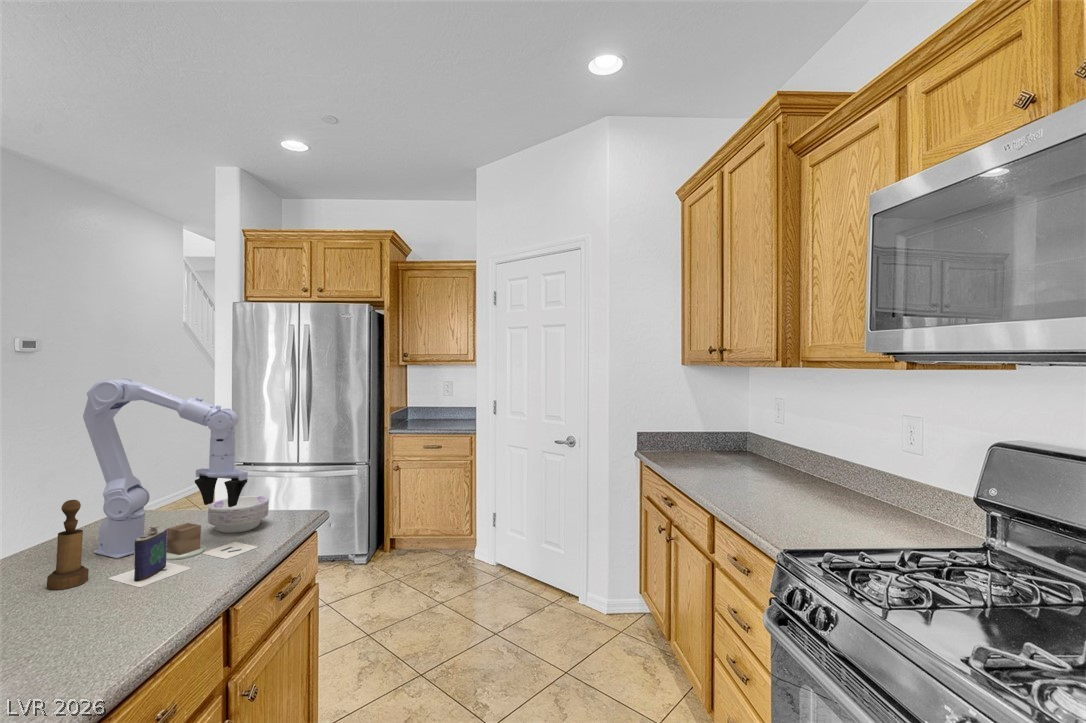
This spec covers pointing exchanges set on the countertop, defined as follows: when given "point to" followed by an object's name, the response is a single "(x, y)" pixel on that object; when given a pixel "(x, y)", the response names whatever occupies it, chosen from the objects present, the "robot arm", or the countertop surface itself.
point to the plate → (187, 555)
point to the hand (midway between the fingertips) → (220, 505)
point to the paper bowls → (238, 514)
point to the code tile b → (229, 550)
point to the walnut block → (183, 538)
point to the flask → (150, 553)
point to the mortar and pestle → (69, 552)
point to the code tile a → (164, 573)
